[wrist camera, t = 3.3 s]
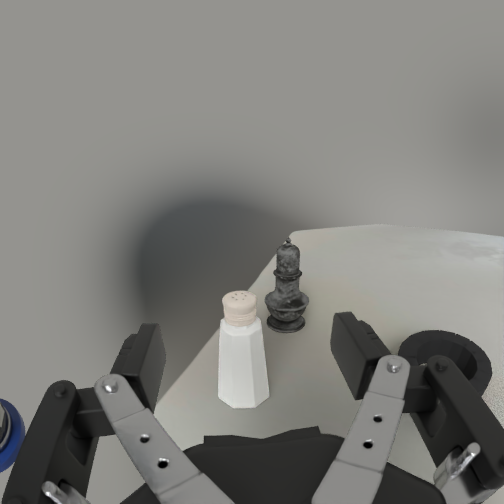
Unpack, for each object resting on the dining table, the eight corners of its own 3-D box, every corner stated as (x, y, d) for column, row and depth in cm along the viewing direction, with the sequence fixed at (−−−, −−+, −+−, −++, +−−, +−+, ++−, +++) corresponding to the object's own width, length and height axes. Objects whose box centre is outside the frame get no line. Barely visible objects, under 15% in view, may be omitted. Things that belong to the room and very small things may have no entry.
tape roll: (457, 438, 17) (473, 415, 16) (370, 388, 26) (378, 363, 25) (489, 376, 23) (500, 353, 22) (419, 342, 32) (426, 319, 31)
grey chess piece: (274, 307, 43) (275, 229, 39) (312, 315, 41) (317, 234, 37) (257, 328, 38) (256, 241, 34) (299, 338, 36) (304, 247, 32)
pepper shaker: (230, 368, 30) (223, 278, 27) (277, 380, 29) (281, 287, 25) (207, 401, 26) (193, 306, 22) (260, 416, 24) (260, 319, 20)
